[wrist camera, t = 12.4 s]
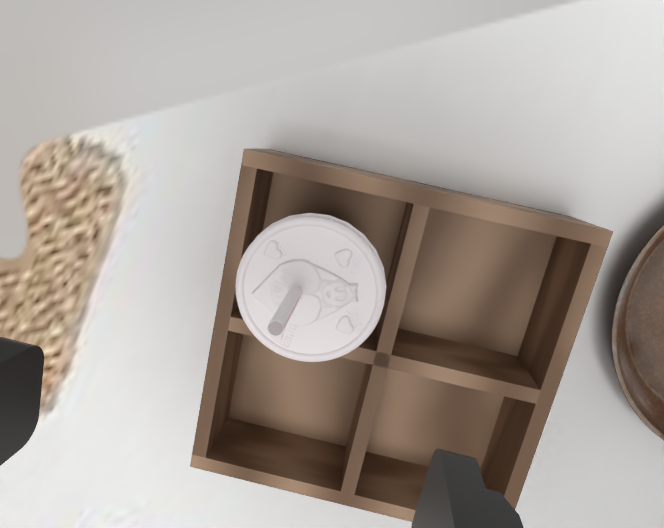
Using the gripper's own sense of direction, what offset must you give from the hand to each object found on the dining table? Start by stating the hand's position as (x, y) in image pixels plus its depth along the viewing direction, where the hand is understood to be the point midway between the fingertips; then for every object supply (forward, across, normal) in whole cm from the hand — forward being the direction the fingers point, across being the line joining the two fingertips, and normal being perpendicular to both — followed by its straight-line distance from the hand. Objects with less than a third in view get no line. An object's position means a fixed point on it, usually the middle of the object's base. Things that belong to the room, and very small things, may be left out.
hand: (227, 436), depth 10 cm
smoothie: (+21, 0, 0) cm, 21 cm away
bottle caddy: (+22, -4, +4) cm, 23 cm away
